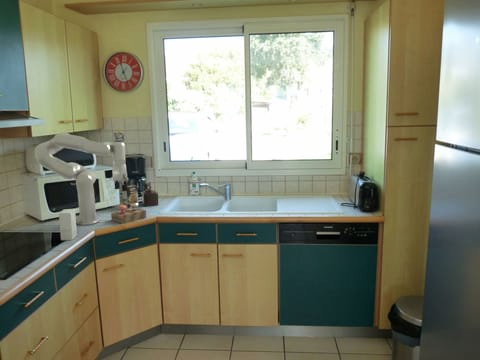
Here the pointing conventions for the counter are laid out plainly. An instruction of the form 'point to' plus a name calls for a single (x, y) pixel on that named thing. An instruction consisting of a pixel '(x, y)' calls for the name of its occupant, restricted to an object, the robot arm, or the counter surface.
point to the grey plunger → (134, 206)
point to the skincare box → (68, 224)
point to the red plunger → (122, 208)
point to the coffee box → (130, 196)
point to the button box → (128, 215)
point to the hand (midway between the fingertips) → (121, 189)
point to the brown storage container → (149, 196)
